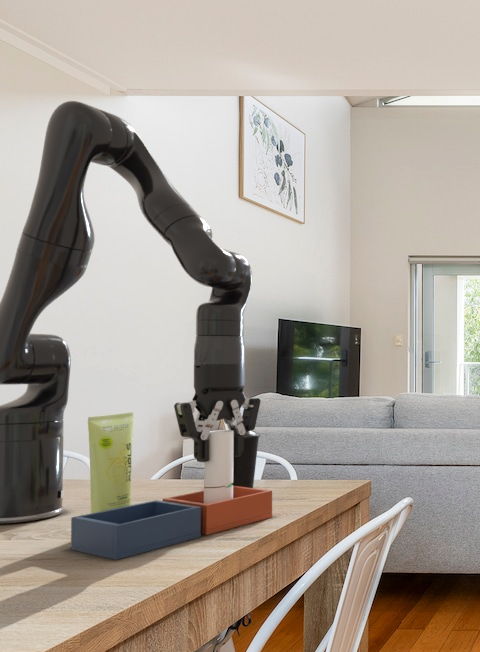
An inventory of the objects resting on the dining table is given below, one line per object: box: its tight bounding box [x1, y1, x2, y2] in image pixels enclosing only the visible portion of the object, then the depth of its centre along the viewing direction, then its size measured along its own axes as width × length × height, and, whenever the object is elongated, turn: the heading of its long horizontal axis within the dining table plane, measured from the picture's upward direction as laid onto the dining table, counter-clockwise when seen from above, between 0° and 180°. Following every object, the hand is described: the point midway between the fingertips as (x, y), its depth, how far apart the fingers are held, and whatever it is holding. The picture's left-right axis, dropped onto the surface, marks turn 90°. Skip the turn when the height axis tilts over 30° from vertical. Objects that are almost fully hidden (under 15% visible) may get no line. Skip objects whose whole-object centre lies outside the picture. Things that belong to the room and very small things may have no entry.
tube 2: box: [203, 429, 234, 504], centre depth 101 cm, size 4×4×15 cm
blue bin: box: [70, 499, 202, 560], centre depth 89 cm, size 12×12×5 cm
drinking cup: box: [232, 408, 261, 488], centre depth 113 cm, size 8×8×20 cm
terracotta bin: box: [162, 486, 273, 536], centre depth 101 cm, size 12×12×5 cm
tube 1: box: [87, 411, 134, 514], centre depth 94 cm, size 6×5×20 cm
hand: (219, 458), depth 101 cm, fingers open, 5 cm apart
